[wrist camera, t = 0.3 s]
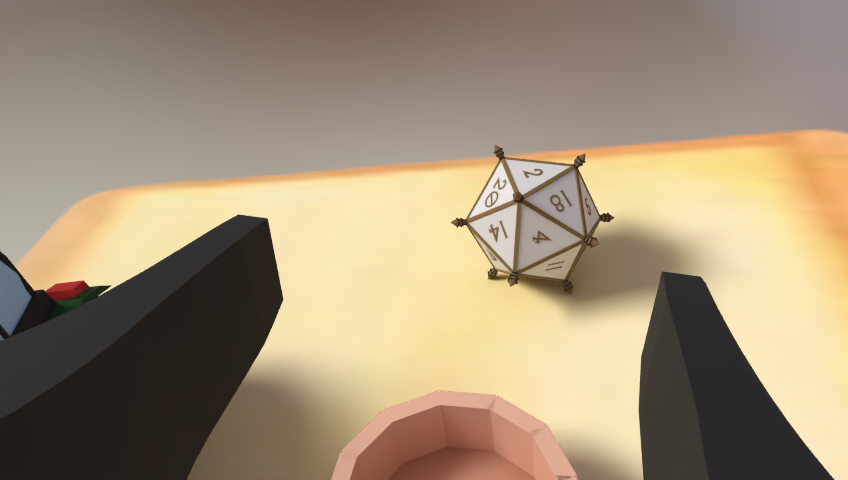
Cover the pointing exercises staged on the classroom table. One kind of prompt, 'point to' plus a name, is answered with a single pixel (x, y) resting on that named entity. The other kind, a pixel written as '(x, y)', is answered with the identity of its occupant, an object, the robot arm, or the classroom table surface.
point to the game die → (534, 219)
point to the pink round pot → (454, 443)
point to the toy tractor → (36, 300)
